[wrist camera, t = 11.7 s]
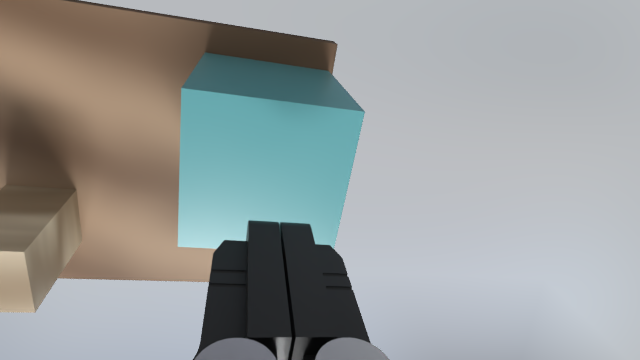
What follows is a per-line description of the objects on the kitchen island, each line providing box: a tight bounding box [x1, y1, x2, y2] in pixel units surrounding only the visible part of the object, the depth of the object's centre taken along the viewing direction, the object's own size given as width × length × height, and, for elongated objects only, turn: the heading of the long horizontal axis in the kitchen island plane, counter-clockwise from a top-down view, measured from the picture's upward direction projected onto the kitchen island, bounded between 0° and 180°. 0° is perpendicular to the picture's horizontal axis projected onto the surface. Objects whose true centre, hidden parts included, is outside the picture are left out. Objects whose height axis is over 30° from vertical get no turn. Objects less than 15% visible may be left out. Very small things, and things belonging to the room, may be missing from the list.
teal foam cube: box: [178, 53, 365, 249], centre depth 16 cm, size 6×6×7 cm
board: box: [0, 0, 337, 312], centre depth 17 cm, size 14×16×6 cm
